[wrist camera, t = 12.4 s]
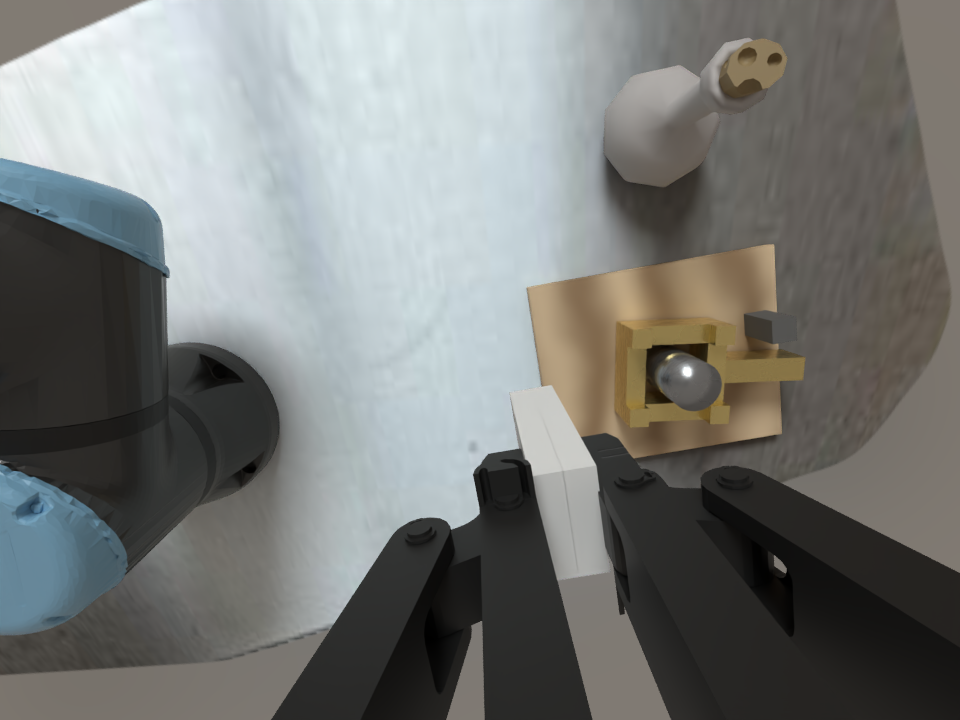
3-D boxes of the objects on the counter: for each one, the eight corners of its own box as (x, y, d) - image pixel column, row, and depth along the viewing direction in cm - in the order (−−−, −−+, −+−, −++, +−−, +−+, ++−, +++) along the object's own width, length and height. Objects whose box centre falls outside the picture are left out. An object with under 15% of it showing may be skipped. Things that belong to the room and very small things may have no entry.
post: (636, 384, 48) (672, 415, 39) (631, 344, 47) (668, 366, 38) (677, 377, 48) (723, 406, 39) (674, 336, 47) (720, 357, 38)
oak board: (553, 466, 50) (555, 471, 48) (526, 287, 46) (527, 288, 45) (774, 429, 49) (781, 433, 48) (766, 244, 45) (774, 244, 44)
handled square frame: (614, 409, 47) (629, 427, 42) (616, 321, 45) (632, 329, 40) (775, 403, 47) (808, 420, 42) (784, 314, 45) (820, 322, 40)
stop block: (744, 335, 46) (772, 344, 41) (743, 313, 45) (771, 320, 41) (766, 331, 46) (796, 340, 41) (765, 309, 45) (796, 316, 41)
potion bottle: (682, 196, 44) (819, 164, 27) (584, 181, 44) (657, 137, 26) (706, 90, 42) (871, -22, 25) (604, 72, 42) (698, -53, 24)
